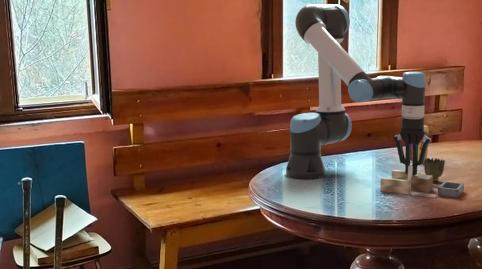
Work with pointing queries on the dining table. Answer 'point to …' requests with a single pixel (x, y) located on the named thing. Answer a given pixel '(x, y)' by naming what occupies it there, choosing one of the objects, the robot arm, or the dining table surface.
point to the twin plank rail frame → (400, 184)
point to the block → (421, 183)
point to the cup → (434, 168)
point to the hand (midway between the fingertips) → (410, 183)
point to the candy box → (421, 144)
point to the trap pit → (450, 189)
